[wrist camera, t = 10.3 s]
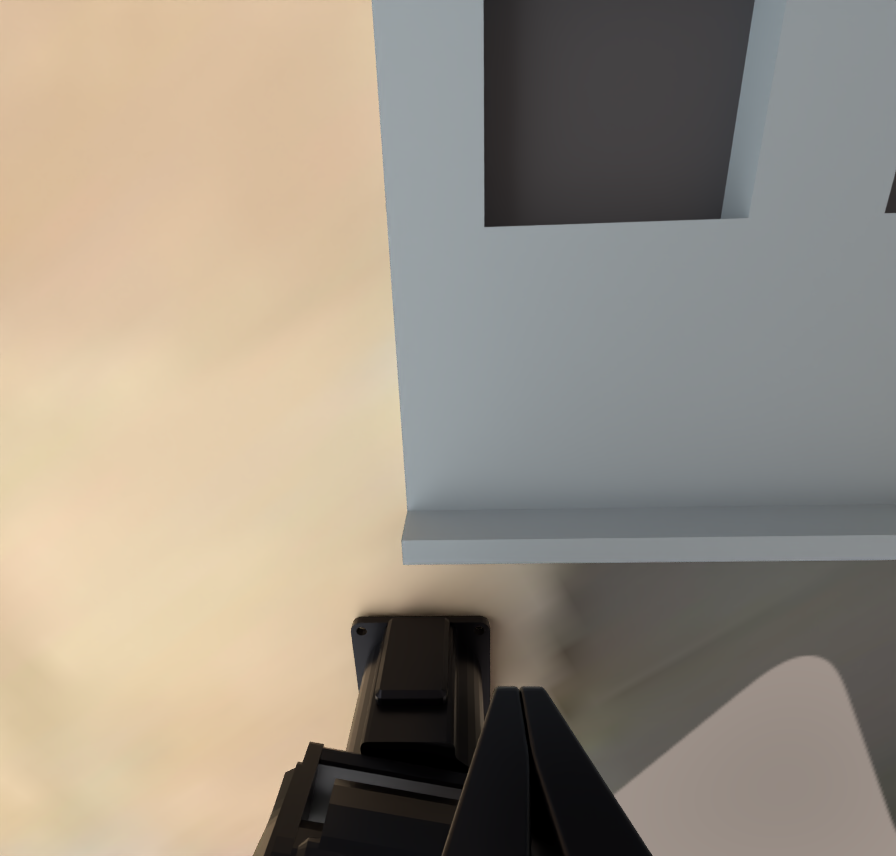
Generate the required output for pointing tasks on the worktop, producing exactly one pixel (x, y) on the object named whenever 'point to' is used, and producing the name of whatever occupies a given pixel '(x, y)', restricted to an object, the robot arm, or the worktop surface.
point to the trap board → (642, 277)
